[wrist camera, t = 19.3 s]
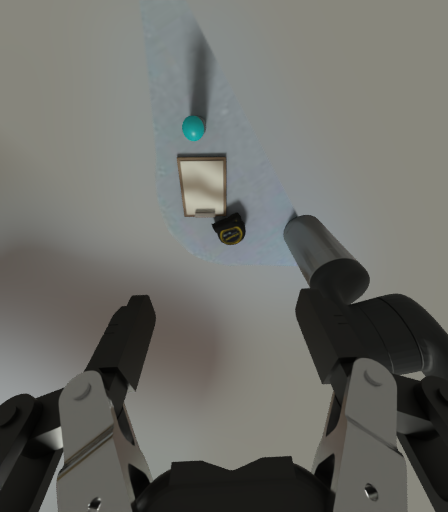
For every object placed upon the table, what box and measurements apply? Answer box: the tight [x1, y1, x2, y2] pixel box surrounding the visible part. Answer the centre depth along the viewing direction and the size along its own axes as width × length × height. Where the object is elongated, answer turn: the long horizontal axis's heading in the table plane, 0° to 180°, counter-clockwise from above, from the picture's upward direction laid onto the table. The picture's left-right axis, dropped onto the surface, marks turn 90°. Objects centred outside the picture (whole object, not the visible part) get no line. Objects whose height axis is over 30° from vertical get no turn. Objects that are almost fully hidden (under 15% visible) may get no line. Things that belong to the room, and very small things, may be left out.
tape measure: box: [212, 213, 246, 245], centre depth 47 cm, size 7×7×4 cm
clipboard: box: [177, 157, 226, 218], centre depth 42 cm, size 12×10×2 cm
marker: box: [182, 116, 206, 141], centre depth 32 cm, size 3×3×9 cm
